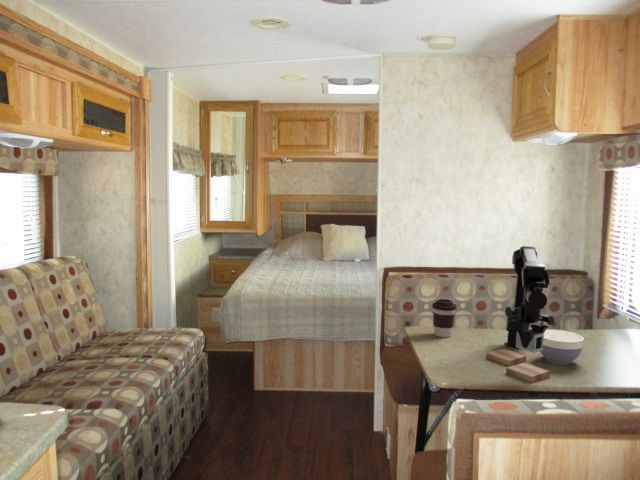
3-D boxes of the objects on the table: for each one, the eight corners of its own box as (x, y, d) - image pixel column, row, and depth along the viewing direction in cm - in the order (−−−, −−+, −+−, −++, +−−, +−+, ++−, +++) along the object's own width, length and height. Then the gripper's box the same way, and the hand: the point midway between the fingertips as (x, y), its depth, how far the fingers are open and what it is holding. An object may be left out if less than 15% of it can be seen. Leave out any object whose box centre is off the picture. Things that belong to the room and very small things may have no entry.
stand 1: (503, 353, 212) (503, 348, 212) (526, 361, 204) (526, 355, 204) (486, 358, 207) (486, 352, 206) (508, 366, 198) (509, 360, 198)
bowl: (558, 351, 216) (560, 327, 214) (592, 365, 201) (594, 339, 200) (526, 356, 210) (527, 331, 209) (557, 370, 195) (559, 344, 194)
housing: (524, 344, 193) (525, 328, 192) (542, 350, 187) (543, 333, 187) (515, 347, 190) (516, 330, 190) (533, 352, 185) (534, 335, 184)
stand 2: (523, 367, 197) (524, 362, 197) (549, 376, 189) (549, 371, 188) (506, 373, 191) (506, 367, 191) (531, 382, 183) (531, 376, 183)
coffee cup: (455, 339, 229) (457, 304, 227) (431, 337, 231) (432, 302, 229) (454, 332, 239) (456, 298, 237) (431, 331, 241) (432, 297, 239)
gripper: (528, 294, 199) (525, 336, 201) (494, 300, 188) (492, 344, 190) (556, 300, 190) (553, 344, 192) (523, 307, 179) (520, 353, 181)
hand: (529, 346), depth 189 cm, fingers closed on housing, 5 cm apart
